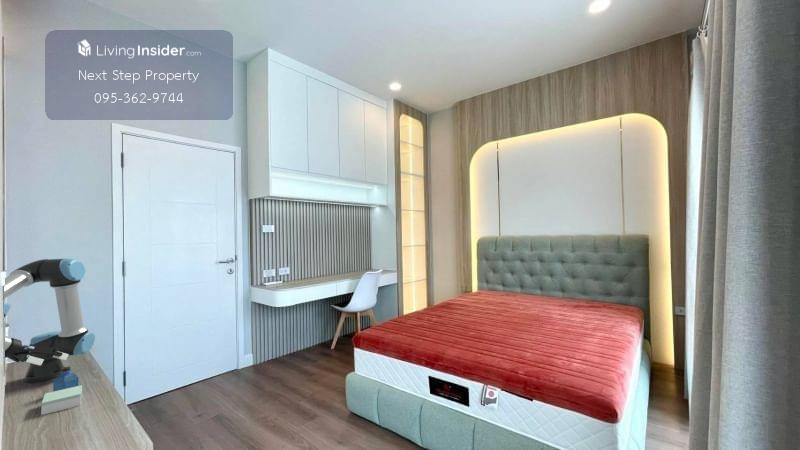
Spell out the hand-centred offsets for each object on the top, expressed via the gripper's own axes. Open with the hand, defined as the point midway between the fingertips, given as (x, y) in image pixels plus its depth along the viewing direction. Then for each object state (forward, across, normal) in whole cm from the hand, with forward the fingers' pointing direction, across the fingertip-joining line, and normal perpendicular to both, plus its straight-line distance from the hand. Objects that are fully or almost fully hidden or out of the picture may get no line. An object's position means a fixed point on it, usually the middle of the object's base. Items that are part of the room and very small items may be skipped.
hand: (54, 360), depth 159 cm
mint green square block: (+5, +10, -20) cm, 23 cm away
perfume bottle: (+13, -1, -12) cm, 18 cm away
